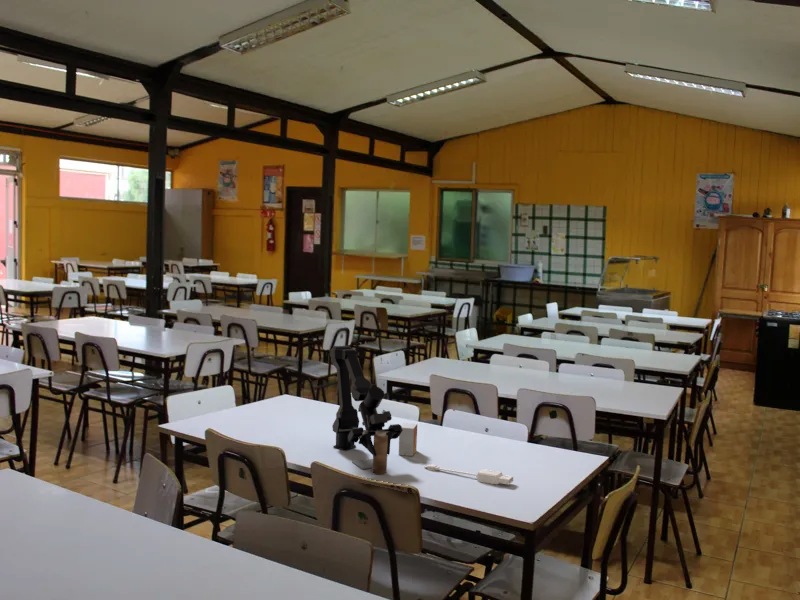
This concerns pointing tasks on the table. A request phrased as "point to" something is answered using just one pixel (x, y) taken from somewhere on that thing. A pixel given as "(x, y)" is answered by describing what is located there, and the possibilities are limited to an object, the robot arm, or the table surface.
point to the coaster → (364, 464)
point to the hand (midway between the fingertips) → (381, 454)
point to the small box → (408, 439)
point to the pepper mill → (380, 453)
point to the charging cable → (480, 475)
